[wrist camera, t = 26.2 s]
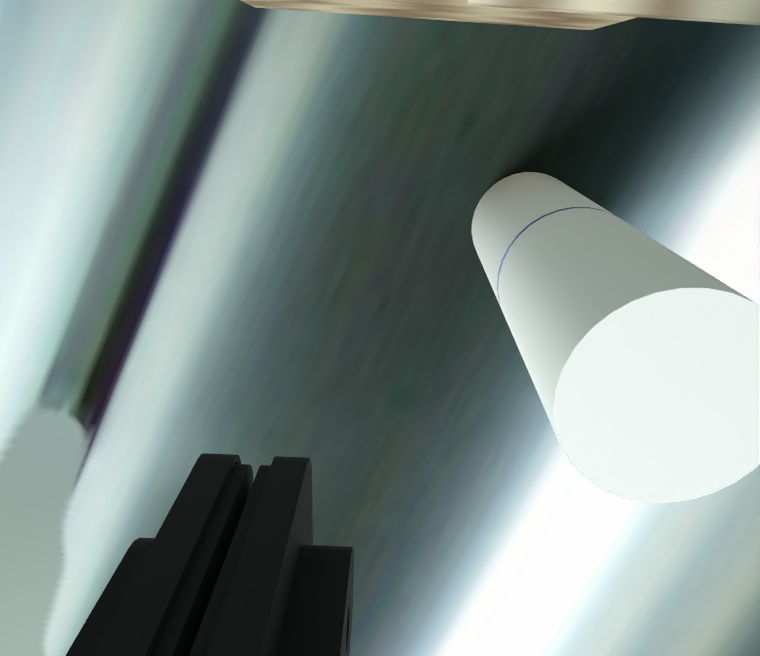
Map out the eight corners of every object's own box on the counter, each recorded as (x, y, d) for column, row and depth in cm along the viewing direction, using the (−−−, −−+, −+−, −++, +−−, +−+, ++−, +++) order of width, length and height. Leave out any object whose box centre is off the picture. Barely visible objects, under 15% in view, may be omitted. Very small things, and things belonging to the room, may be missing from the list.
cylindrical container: (555, 151, 41) (759, 243, 17) (597, 249, 43) (828, 448, 20) (453, 204, 42) (515, 354, 19) (498, 296, 44) (604, 534, 21)
